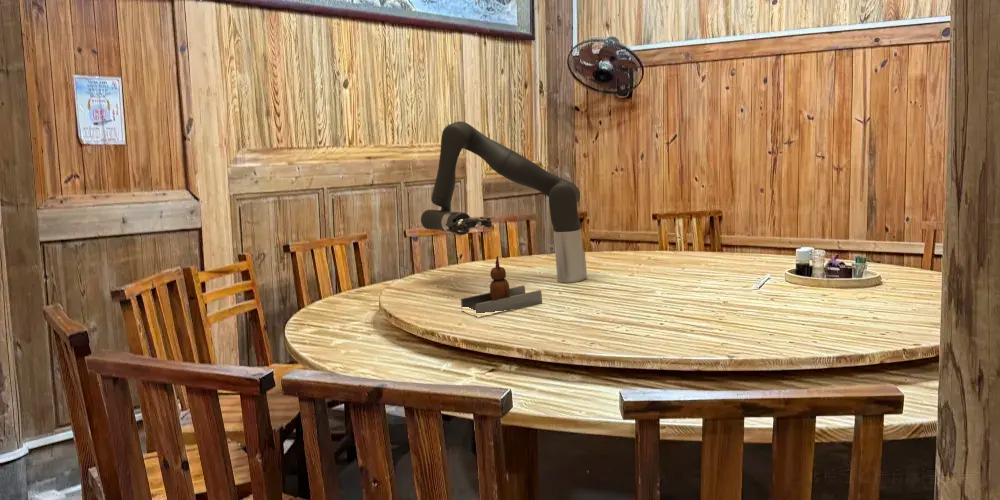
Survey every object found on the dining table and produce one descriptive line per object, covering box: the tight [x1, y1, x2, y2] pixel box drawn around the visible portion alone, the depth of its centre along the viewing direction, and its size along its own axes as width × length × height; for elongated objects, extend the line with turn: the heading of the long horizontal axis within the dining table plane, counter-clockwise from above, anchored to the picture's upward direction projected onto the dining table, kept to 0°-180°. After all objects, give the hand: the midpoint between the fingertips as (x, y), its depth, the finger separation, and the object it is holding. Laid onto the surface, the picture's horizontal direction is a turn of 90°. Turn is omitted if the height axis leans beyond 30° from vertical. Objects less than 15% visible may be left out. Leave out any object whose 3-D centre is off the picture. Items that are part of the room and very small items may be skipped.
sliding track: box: [460, 285, 543, 313], centre depth 255 cm, size 22×11×4 cm, turn 118°
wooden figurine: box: [489, 256, 511, 300], centre depth 254 cm, size 7×6×15 cm
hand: (478, 226), depth 268 cm, fingers open, 8 cm apart
